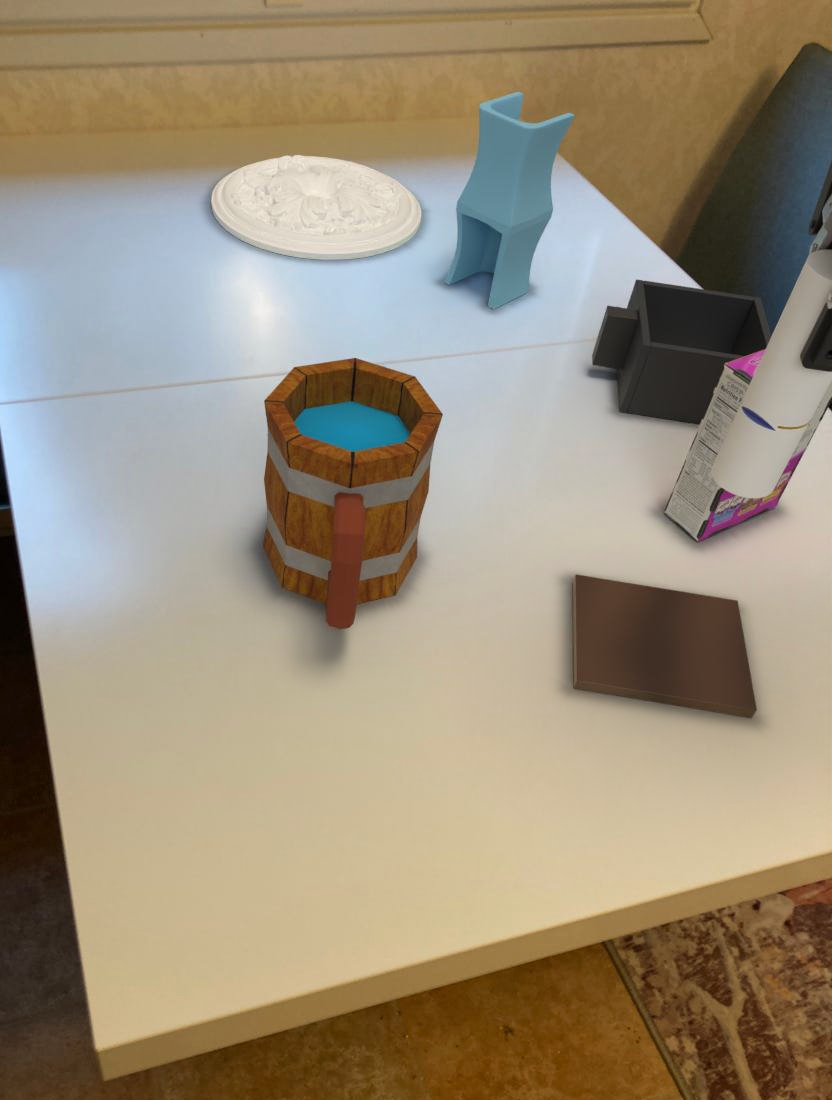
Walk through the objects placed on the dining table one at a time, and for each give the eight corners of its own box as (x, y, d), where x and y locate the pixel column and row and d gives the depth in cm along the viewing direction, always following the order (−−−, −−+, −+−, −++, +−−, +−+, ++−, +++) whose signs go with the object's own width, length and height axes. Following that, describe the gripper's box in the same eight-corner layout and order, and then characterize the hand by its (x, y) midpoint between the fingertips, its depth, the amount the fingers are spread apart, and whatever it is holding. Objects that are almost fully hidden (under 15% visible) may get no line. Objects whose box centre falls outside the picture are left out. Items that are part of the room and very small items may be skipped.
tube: (772, 465, 65) (879, 257, 53) (776, 503, 62) (891, 293, 51) (710, 453, 65) (804, 244, 54) (711, 490, 62) (810, 279, 51)
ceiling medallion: (273, 148, 136) (274, 124, 134) (450, 197, 130) (454, 174, 128) (170, 220, 119) (169, 195, 116) (369, 281, 113) (371, 256, 110)
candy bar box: (738, 478, 93) (812, 329, 80) (776, 508, 90) (859, 358, 78) (658, 512, 88) (723, 359, 76) (696, 544, 86) (770, 391, 73)
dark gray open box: (732, 362, 107) (760, 297, 101) (747, 431, 98) (780, 365, 92) (587, 340, 108) (607, 274, 102) (589, 407, 99) (611, 339, 93)
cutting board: (733, 608, 80) (738, 600, 80) (752, 718, 72) (757, 710, 72) (572, 582, 81) (575, 574, 80) (573, 688, 73) (576, 680, 72)
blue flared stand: (533, 289, 115) (575, 114, 100) (493, 309, 111) (530, 130, 96) (485, 264, 118) (518, 91, 103) (444, 282, 114) (473, 105, 99)
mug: (268, 496, 85) (270, 350, 74) (414, 506, 86) (439, 364, 75) (249, 660, 72) (248, 515, 61) (421, 671, 73) (452, 529, 62)
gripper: (1117, 77, 38) (901, 423, 51) (1008, -18, 47) (848, 295, 60) (931, 53, 38) (763, 403, 51) (859, -37, 48) (732, 278, 61)
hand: (810, 343), depth 56 cm, fingers closed on tube, 4 cm apart
